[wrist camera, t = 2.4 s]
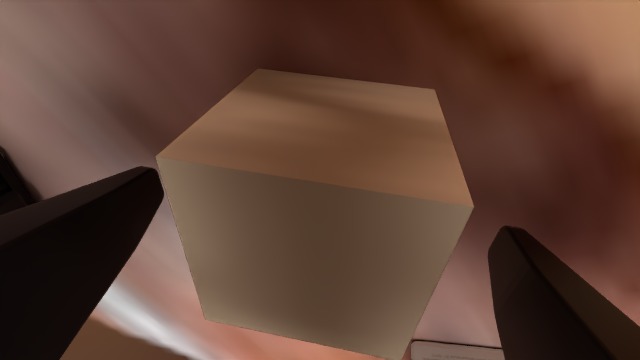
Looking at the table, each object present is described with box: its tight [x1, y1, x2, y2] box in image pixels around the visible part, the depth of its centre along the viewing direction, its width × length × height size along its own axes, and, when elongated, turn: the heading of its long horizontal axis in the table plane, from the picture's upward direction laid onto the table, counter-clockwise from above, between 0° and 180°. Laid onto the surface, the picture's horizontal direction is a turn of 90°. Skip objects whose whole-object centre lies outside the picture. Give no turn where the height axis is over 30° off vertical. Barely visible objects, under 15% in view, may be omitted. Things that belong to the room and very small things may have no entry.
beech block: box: [155, 68, 474, 360], centre depth 8 cm, size 5×5×5 cm
